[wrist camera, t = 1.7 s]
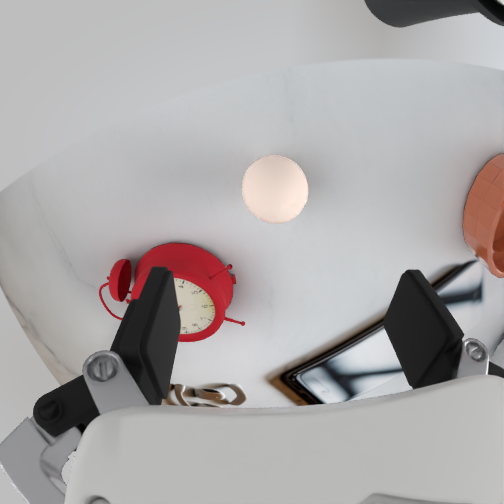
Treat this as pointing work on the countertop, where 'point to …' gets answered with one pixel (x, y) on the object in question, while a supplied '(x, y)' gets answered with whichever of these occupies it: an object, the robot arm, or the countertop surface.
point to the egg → (275, 189)
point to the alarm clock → (182, 286)
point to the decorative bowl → (499, 355)
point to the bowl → (487, 216)
